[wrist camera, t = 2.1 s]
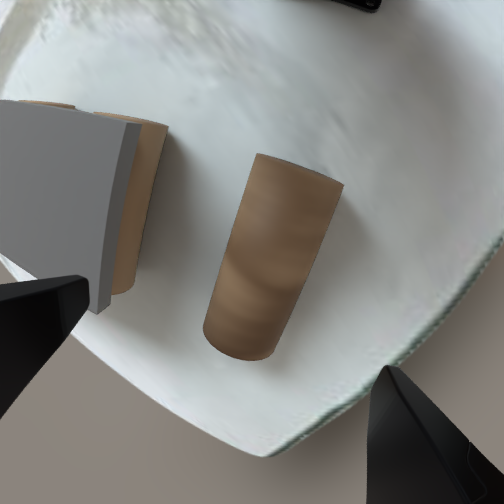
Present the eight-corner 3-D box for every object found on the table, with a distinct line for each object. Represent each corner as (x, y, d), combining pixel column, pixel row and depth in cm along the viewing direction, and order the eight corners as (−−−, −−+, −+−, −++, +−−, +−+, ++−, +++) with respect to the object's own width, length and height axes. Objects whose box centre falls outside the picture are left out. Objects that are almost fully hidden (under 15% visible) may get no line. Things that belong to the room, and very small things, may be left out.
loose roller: (337, 179, 15) (351, 191, 11) (277, 326, 18) (272, 370, 14) (261, 152, 15) (250, 154, 11) (213, 304, 18) (193, 343, 14)
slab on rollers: (181, 128, 15) (126, 122, 11) (146, 276, 19) (97, 314, 14) (49, 101, 16) (-8, 99, 11) (32, 220, 19) (-19, 239, 15)
